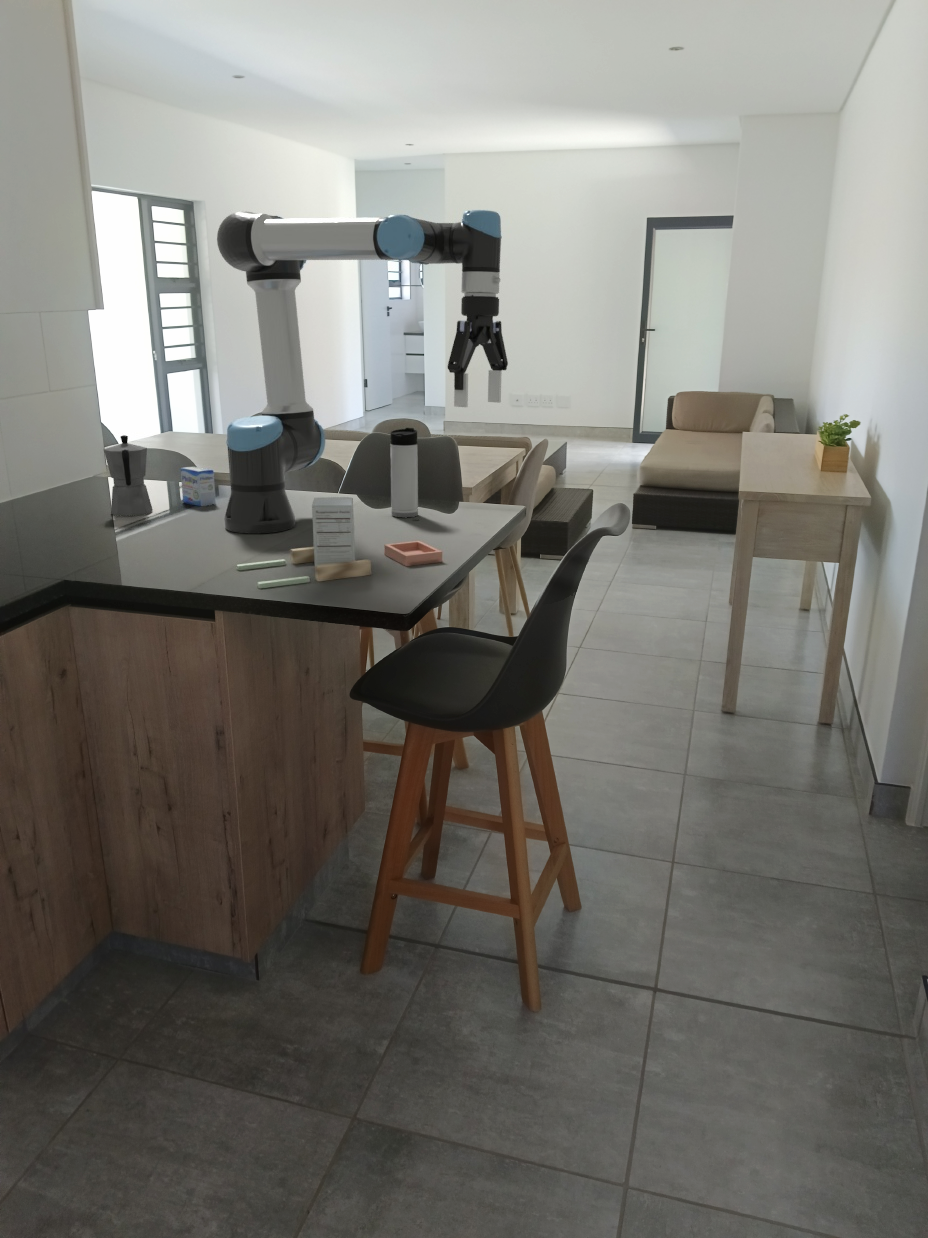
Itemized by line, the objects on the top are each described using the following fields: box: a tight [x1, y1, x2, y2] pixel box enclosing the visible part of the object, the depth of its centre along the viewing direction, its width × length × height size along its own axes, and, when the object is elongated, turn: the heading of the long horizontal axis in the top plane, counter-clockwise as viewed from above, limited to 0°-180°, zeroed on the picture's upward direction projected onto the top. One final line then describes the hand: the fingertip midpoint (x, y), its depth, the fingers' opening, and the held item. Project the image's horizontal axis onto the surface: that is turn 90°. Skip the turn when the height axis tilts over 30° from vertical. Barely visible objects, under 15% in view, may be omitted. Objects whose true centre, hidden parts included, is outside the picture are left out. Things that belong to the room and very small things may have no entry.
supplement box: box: [311, 496, 356, 567], centre depth 169 cm, size 7×7×13 cm
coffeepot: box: [103, 434, 153, 517], centre depth 213 cm, size 15×9×18 cm, turn 19°
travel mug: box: [389, 427, 419, 519], centre depth 214 cm, size 6×7×20 cm
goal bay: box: [235, 558, 311, 589], centre depth 165 cm, size 9×14×1 cm, turn 29°
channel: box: [290, 546, 372, 582], centre depth 170 cm, size 10×15×2 cm, turn 29°
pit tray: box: [383, 540, 443, 567], centre depth 178 cm, size 8×10×2 cm
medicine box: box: [180, 466, 217, 507], centre depth 227 cm, size 8×4×9 cm, turn 49°
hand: (478, 404), depth 190 cm, fingers open, 13 cm apart
